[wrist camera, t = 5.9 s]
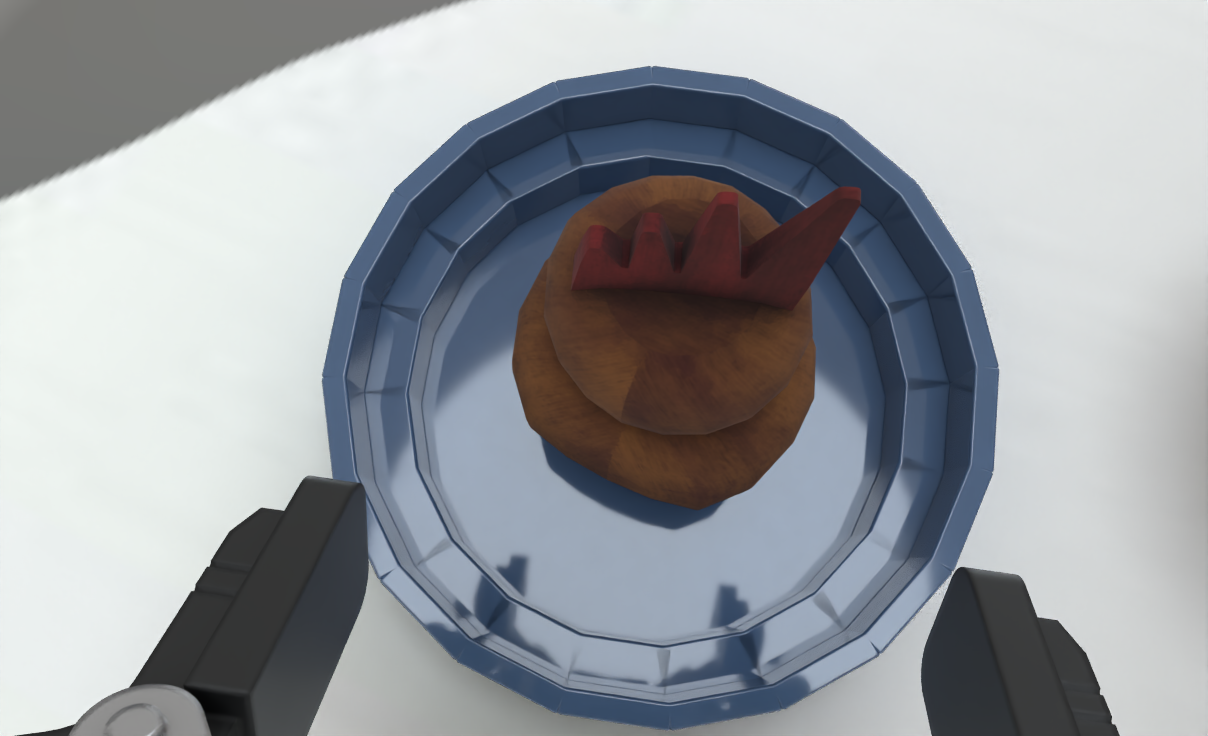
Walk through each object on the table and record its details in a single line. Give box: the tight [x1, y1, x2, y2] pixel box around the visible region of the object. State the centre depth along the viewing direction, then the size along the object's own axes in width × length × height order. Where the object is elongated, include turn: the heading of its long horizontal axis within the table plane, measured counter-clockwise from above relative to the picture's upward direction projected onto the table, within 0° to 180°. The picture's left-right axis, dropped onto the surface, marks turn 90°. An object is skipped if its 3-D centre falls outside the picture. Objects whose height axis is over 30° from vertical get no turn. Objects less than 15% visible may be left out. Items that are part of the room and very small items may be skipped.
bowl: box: [322, 66, 999, 731], centre depth 26 cm, size 16×16×4 cm
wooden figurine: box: [512, 175, 861, 510], centre depth 20 cm, size 7×6×15 cm
